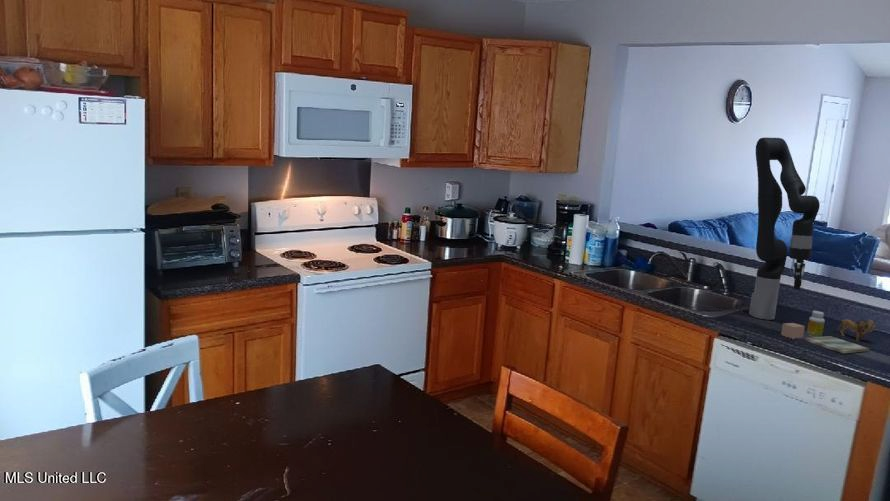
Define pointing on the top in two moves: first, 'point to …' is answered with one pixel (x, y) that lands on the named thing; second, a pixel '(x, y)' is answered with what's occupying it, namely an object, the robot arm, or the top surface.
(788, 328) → the terracotta block
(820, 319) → the supplement bottle
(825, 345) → the pale green flat slab
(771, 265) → the robot arm
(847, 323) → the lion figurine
